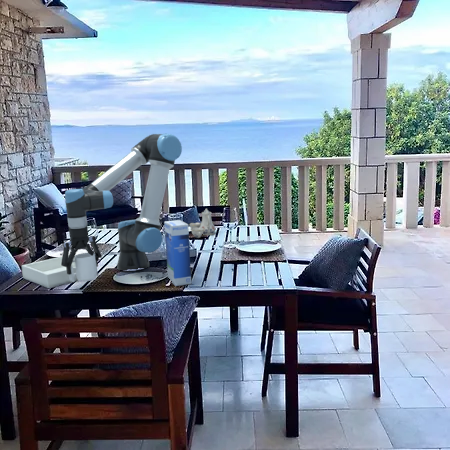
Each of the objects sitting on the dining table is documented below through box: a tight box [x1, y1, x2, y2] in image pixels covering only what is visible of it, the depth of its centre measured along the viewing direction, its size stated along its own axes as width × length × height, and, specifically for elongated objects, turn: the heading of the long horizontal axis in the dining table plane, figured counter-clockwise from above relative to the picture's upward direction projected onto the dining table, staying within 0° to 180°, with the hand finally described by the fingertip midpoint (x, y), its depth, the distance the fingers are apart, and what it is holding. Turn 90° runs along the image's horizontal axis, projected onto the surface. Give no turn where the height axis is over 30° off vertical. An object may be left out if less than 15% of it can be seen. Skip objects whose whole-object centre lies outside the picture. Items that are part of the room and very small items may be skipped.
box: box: [21, 255, 79, 289], centre depth 226 cm, size 24×24×6 cm
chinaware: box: [188, 208, 217, 239], centre depth 307 cm, size 28×17×17 cm, turn 13°
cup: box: [73, 252, 98, 282], centre depth 207 cm, size 8×12×10 cm
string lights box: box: [164, 219, 192, 287], centre depth 211 cm, size 13×8×26 cm, turn 21°
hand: (83, 277), depth 209 cm, fingers closed on cup, 10 cm apart
